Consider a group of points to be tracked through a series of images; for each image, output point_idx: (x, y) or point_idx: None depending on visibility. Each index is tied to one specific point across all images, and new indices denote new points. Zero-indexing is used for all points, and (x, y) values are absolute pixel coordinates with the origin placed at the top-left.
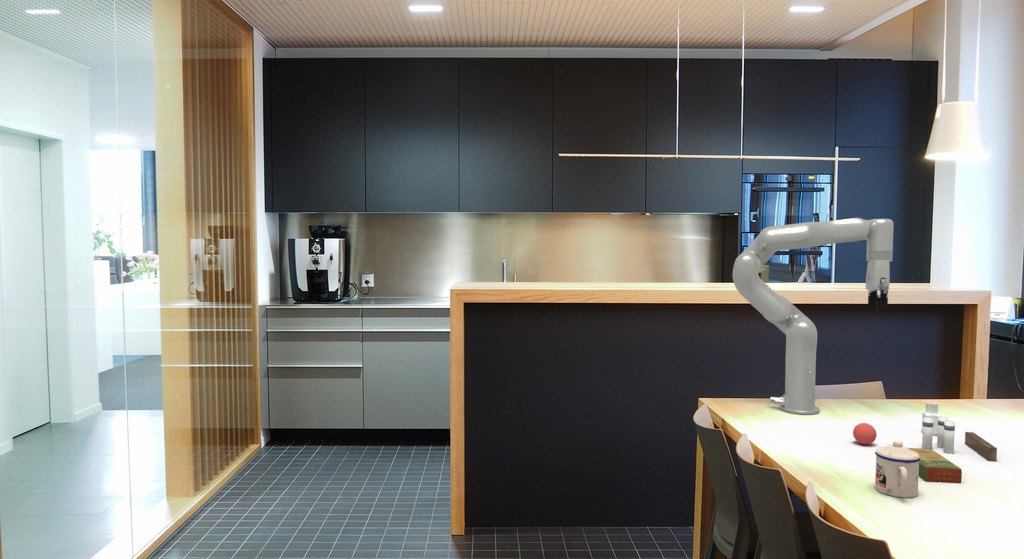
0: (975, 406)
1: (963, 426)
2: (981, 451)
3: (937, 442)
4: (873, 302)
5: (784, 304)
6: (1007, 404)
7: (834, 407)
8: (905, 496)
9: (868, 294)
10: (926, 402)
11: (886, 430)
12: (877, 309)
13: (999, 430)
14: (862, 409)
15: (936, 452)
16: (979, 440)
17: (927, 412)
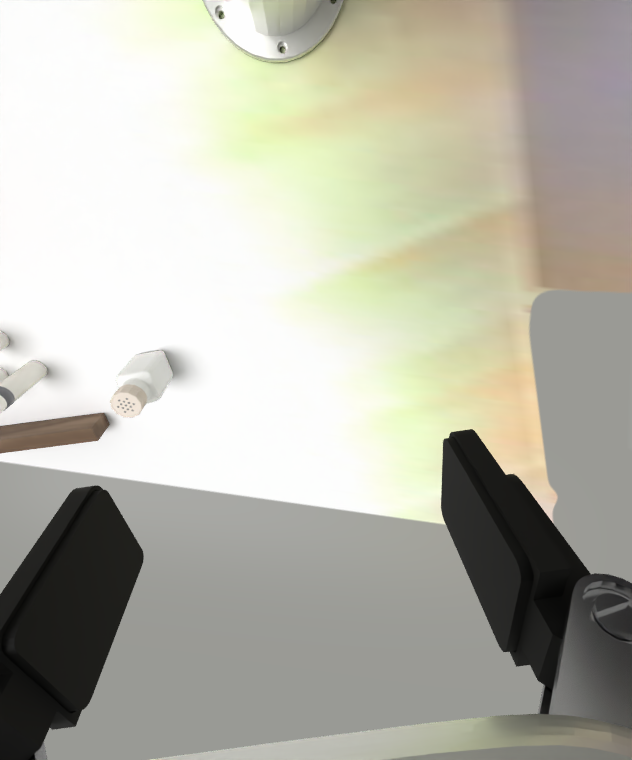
0: None
1: (270, 432)
2: (12, 429)
3: (25, 365)
4: (464, 521)
5: None
6: None
7: (376, 133)
8: None
9: (626, 586)
10: (120, 393)
11: (128, 269)
12: (79, 495)
13: (266, 480)
14: (373, 229)
15: None
16: (24, 439)
17: (125, 382)
